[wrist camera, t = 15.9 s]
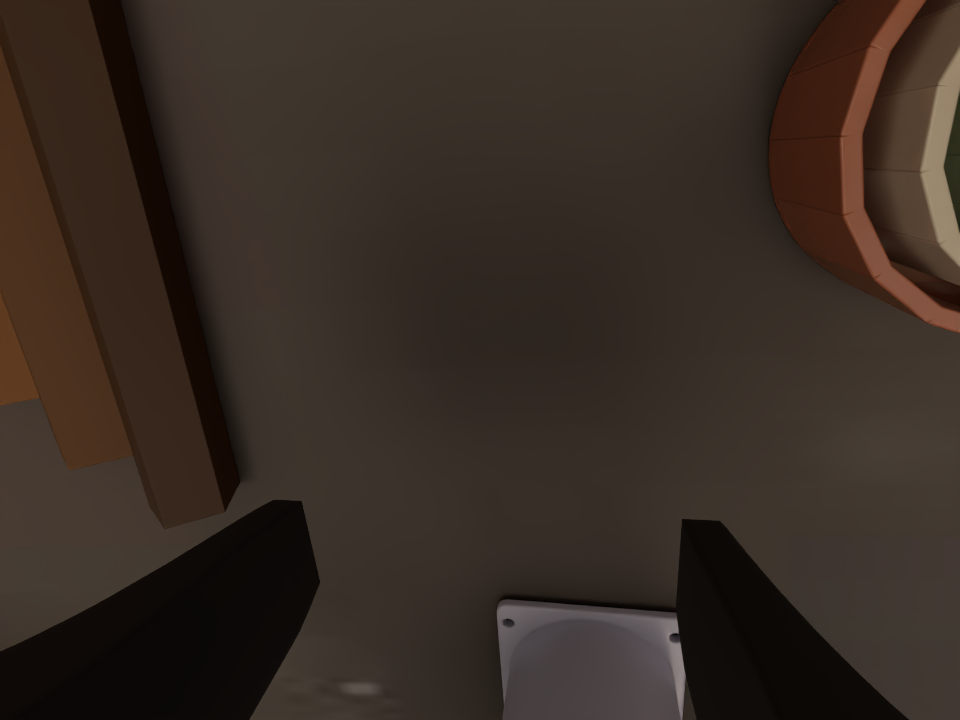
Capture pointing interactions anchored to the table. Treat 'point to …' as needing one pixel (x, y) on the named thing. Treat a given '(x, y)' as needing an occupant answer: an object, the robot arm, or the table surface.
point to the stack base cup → (846, 157)
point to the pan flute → (99, 263)
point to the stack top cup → (916, 145)
